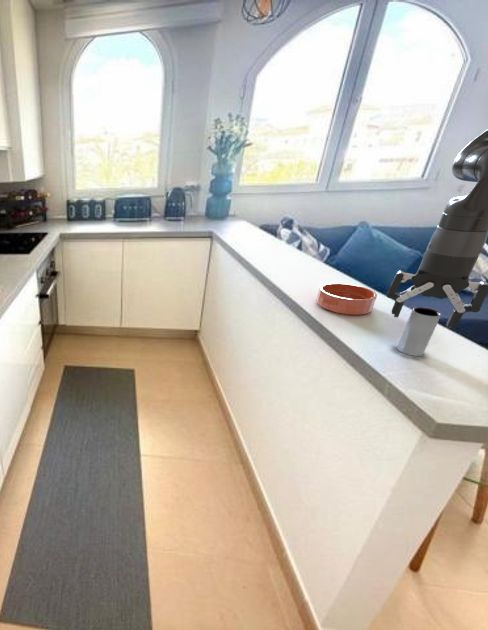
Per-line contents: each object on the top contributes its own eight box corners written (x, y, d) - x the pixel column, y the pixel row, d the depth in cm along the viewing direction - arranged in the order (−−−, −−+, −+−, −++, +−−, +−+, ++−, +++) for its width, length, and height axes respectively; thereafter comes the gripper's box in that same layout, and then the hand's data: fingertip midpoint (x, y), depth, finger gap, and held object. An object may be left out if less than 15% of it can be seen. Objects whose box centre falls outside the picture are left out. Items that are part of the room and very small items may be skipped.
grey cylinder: (398, 353, 80) (414, 313, 75) (395, 344, 83) (411, 305, 78) (424, 358, 77) (443, 317, 73) (421, 349, 80) (439, 309, 76)
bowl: (373, 303, 103) (378, 288, 100) (368, 320, 94) (374, 303, 92) (320, 294, 111) (324, 280, 109) (312, 309, 102) (316, 293, 100)
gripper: (503, 250, 68) (466, 323, 75) (405, 241, 76) (380, 307, 84) (509, 260, 63) (469, 337, 70) (404, 249, 72) (378, 318, 79)
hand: (421, 320), depth 77 cm, fingers open, 8 cm apart
